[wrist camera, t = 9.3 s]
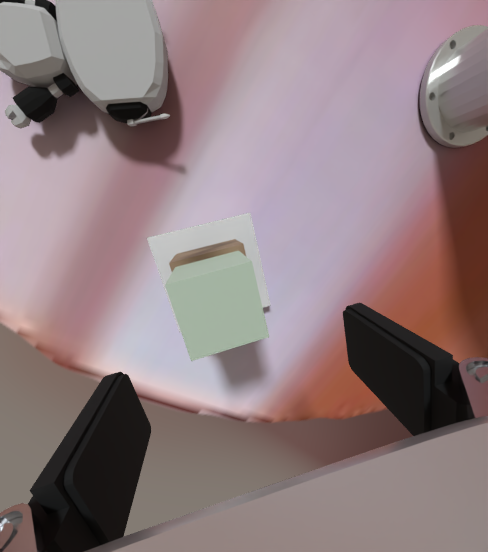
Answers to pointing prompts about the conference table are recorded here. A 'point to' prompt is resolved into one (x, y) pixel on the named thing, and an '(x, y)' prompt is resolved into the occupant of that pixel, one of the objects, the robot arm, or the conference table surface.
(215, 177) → the conference table surface
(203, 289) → the green block
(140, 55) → the robot toy
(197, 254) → the walnut block
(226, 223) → the build plate
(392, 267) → the conference table surface
